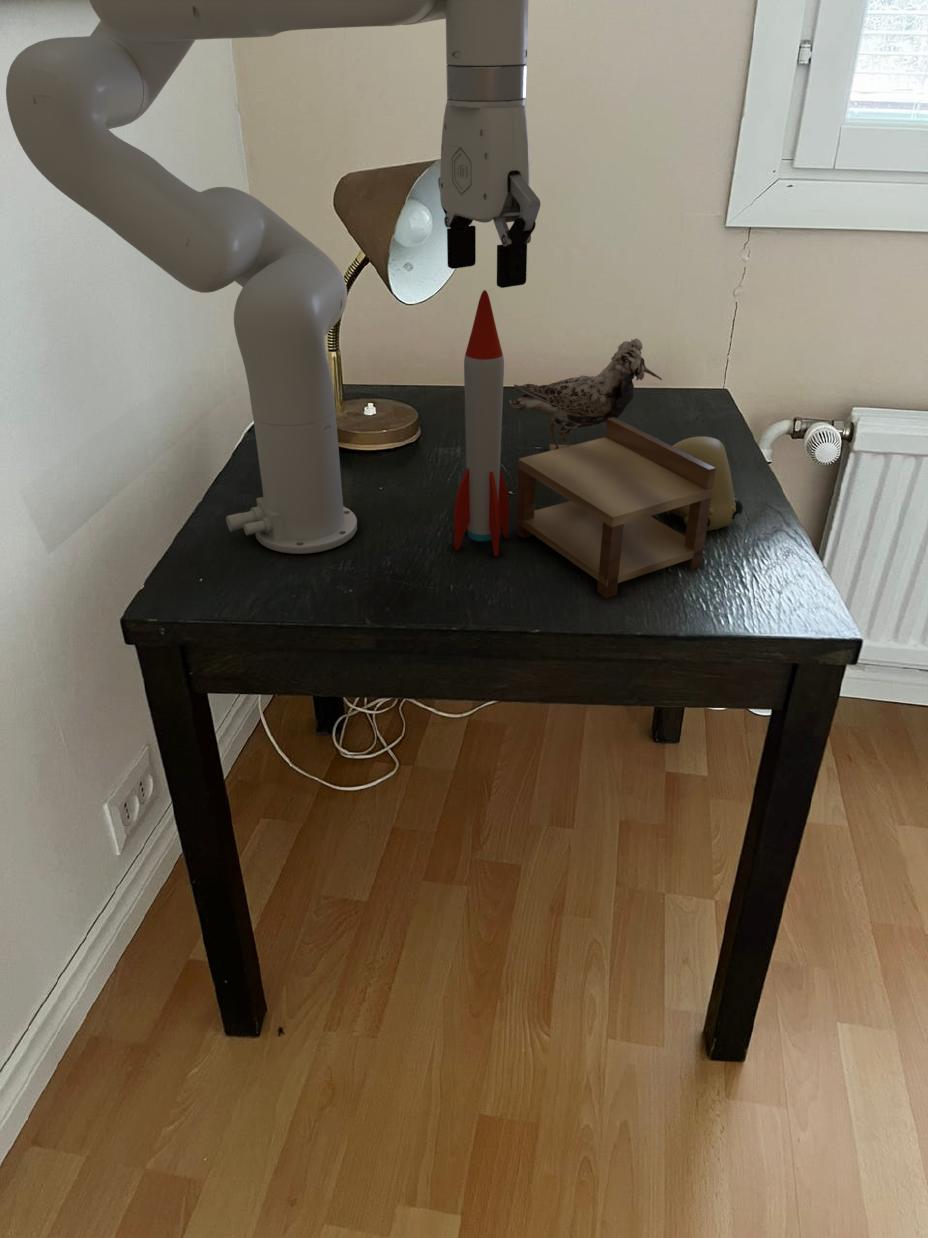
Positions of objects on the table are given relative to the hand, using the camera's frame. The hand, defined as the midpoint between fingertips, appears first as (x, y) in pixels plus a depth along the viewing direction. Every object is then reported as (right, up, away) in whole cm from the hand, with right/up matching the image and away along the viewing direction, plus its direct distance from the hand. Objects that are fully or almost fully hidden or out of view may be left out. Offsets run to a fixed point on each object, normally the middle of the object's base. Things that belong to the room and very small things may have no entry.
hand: (485, 275), depth 99 cm
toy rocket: (0, -27, +17) cm, 32 cm away
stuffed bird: (+14, -13, +38) cm, 43 cm away
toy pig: (+27, -23, +23) cm, 42 cm away
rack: (+15, -27, +16) cm, 35 cm away
